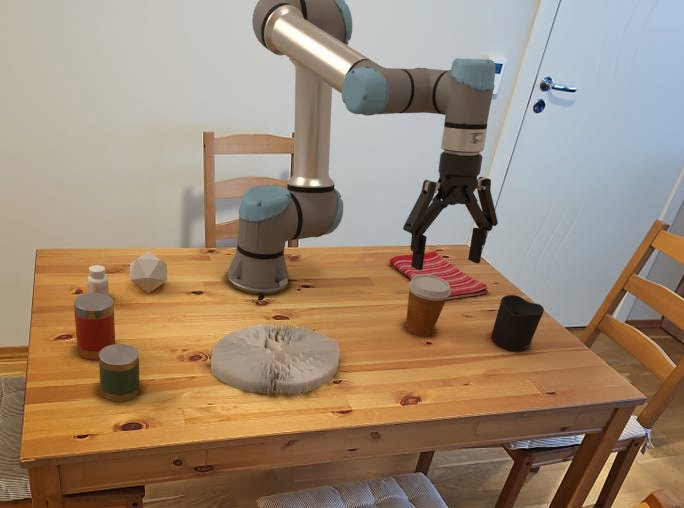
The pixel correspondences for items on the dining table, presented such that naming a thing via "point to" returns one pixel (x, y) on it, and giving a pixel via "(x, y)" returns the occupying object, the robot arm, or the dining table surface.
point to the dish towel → (441, 274)
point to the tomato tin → (94, 324)
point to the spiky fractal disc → (275, 359)
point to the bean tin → (119, 372)
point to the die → (148, 272)
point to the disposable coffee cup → (425, 303)
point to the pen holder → (516, 323)
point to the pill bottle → (97, 280)
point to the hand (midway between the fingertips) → (445, 264)
